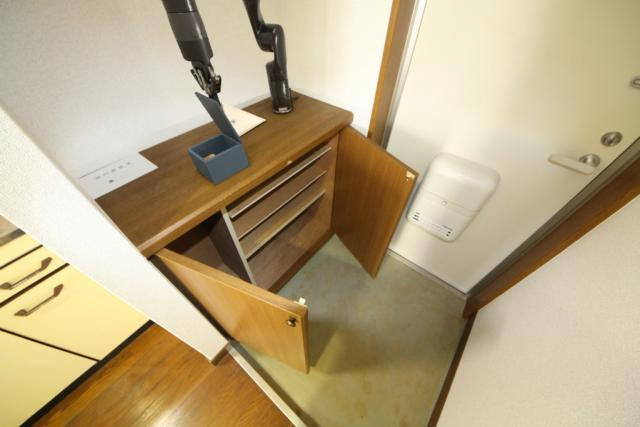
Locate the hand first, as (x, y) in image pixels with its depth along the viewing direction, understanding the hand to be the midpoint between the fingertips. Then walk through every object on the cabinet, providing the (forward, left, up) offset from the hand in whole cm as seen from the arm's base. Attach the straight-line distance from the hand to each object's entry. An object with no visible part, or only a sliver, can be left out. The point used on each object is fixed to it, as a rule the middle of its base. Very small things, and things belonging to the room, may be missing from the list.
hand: (217, 106), depth 68 cm
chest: (+6, 0, -20) cm, 21 cm away
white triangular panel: (-16, -19, -20) cm, 32 cm away
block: (+9, 0, -19) cm, 21 cm away
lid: (+1, 0, -4) cm, 4 cm away
